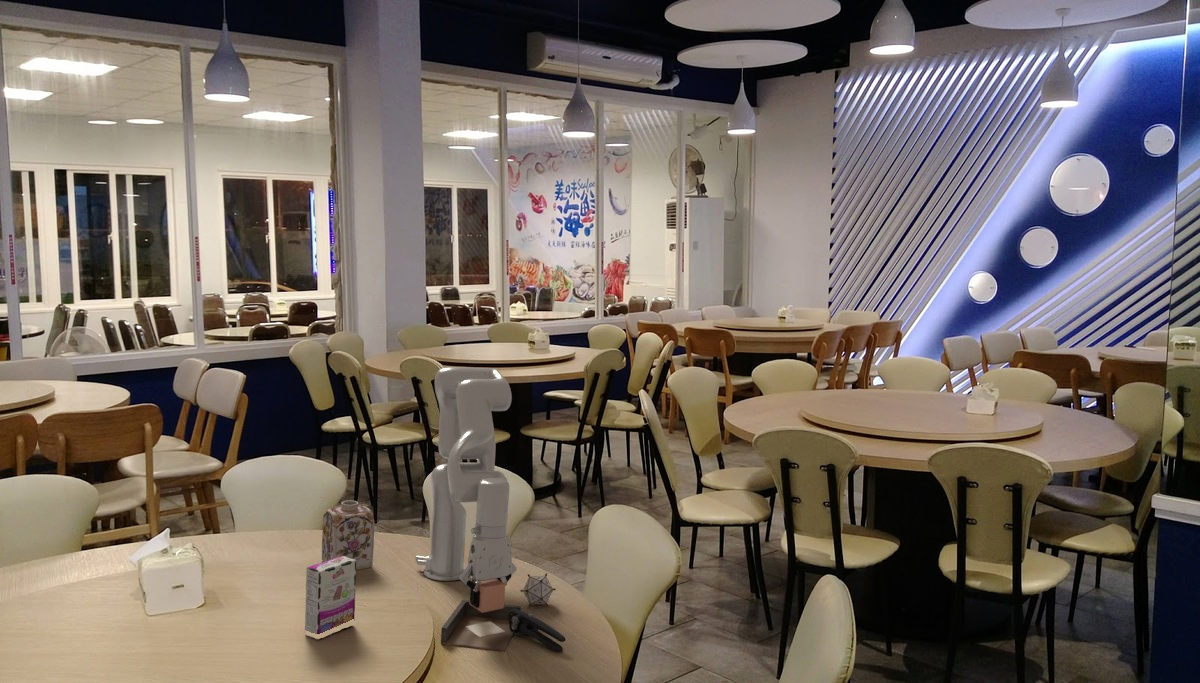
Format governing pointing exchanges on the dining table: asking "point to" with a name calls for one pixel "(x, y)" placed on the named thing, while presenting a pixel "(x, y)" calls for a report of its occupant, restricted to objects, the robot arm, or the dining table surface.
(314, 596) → the candy bar box
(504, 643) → the tray
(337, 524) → the decorative jar
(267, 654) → the dining table surface
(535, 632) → the can opener
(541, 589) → the game die
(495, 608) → the cube
